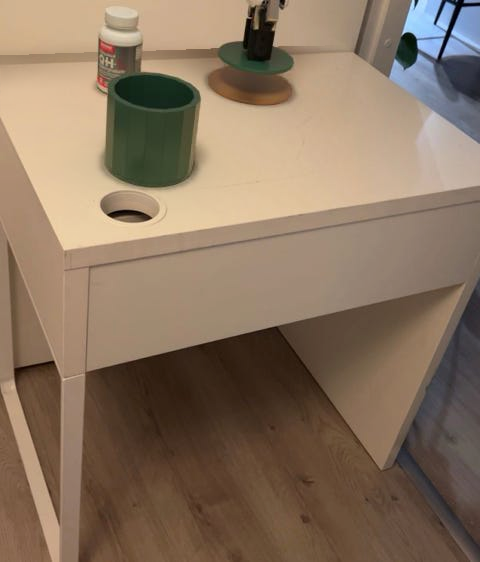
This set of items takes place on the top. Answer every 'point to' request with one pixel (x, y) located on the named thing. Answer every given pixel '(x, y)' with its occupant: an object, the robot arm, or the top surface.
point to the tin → (151, 128)
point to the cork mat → (249, 86)
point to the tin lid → (237, 59)
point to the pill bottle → (118, 45)
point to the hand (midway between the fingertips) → (256, 52)
